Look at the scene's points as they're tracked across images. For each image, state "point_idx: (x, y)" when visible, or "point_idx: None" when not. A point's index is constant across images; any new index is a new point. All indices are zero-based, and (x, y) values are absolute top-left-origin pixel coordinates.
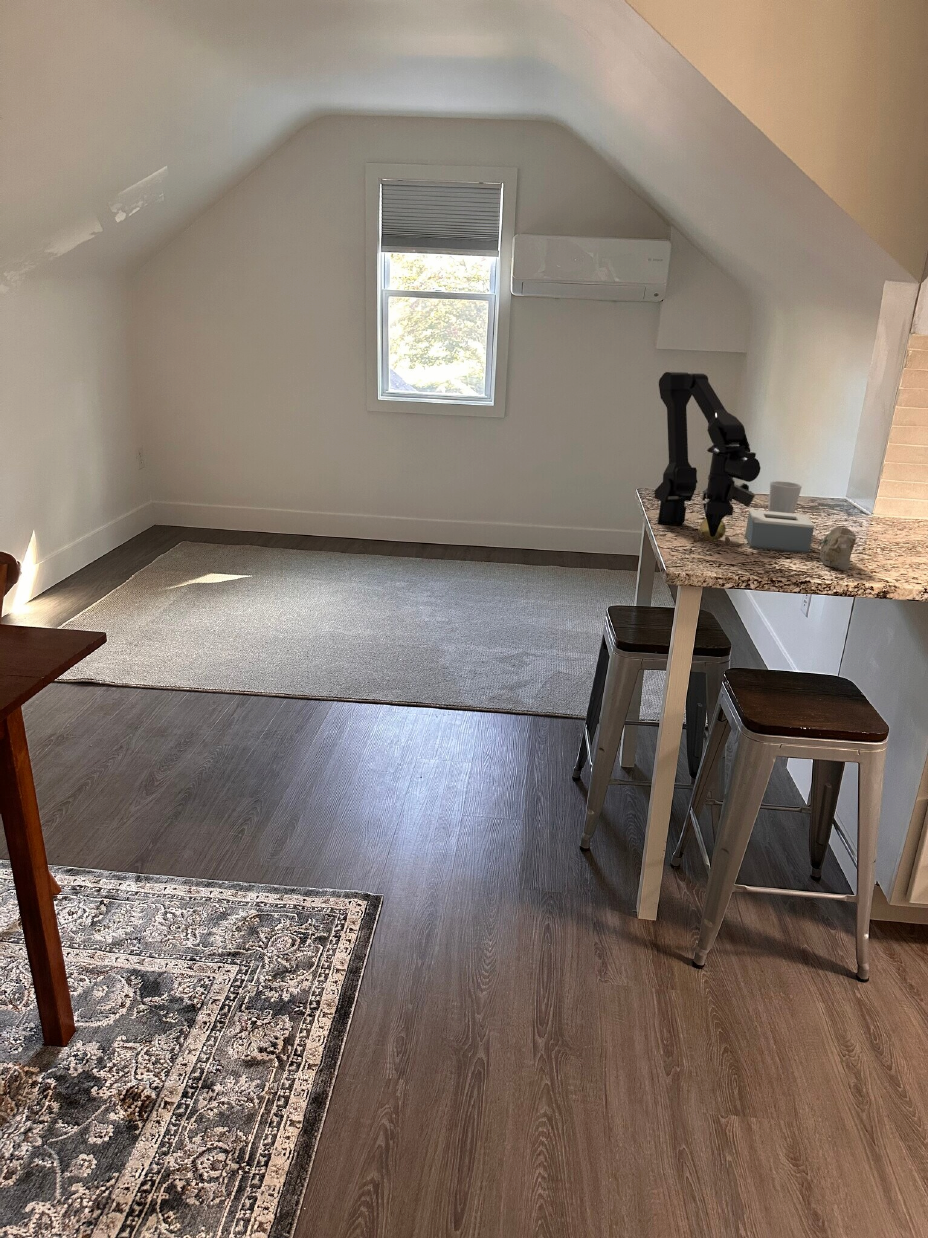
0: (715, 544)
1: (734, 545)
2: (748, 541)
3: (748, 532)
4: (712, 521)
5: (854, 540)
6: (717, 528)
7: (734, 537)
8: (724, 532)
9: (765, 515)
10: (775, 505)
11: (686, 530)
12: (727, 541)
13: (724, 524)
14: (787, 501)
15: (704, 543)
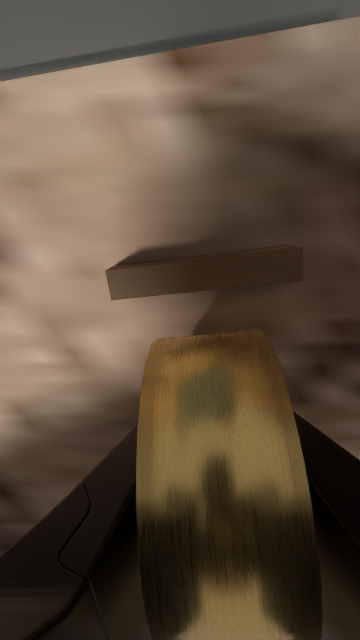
0: (350, 358)
1: (324, 199)
2: (170, 38)
3: (12, 12)
4: None
5: None
6: (331, 444)
7: (4, 211)
8: (265, 338)
9: None
10: None
11: (34, 525)
12: (300, 273)
13: (289, 406)
14: None
15: (348, 430)
